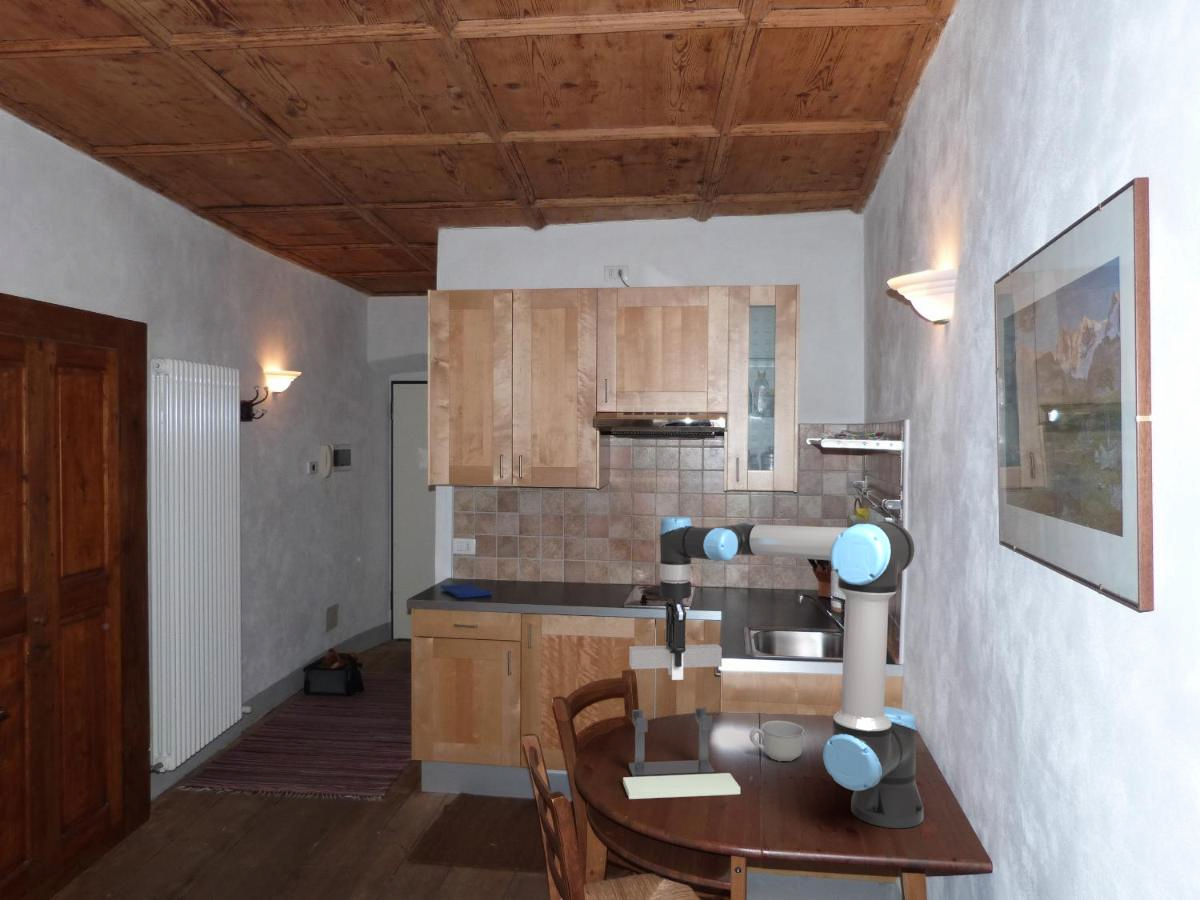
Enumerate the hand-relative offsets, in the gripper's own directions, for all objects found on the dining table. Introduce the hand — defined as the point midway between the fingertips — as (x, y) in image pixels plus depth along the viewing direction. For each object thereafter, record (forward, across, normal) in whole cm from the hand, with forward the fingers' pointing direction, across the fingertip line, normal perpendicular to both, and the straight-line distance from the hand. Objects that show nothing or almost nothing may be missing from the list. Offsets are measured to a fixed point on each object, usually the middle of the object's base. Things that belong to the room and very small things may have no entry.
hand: (675, 676), depth 215 cm
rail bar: (-3, 0, 0) cm, 3 cm away
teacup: (+25, +10, -28) cm, 39 cm away
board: (+24, -8, 0) cm, 25 cm away
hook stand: (+24, +3, 0) cm, 24 cm away
